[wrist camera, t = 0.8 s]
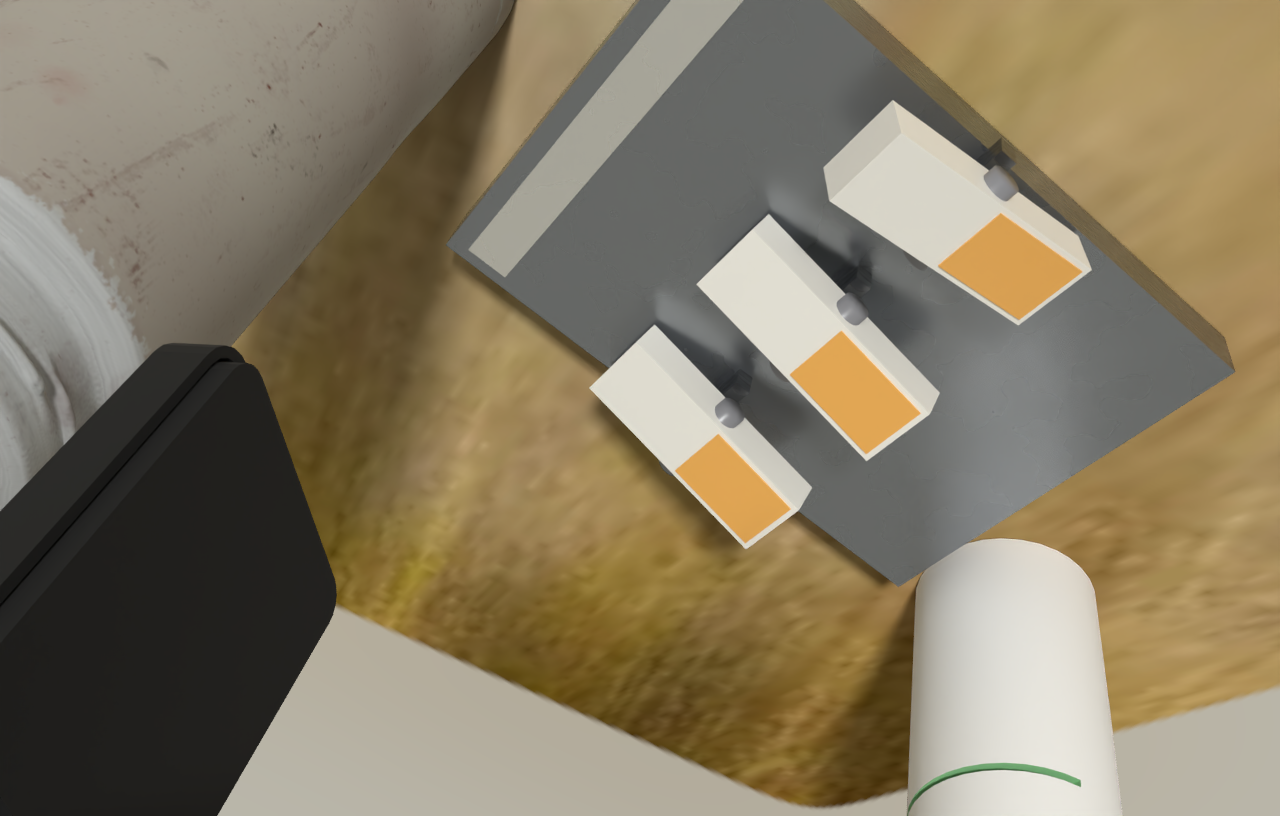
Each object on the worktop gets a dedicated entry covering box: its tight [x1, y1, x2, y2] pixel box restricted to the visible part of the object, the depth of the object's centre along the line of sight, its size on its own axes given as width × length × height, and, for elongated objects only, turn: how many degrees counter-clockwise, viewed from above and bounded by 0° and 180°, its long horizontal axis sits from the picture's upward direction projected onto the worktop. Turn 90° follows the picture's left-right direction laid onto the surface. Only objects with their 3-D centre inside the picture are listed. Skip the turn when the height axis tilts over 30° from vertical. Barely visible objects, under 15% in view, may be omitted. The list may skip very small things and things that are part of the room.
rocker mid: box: [696, 214, 940, 461], centre depth 38 cm, size 8×4×2 cm, turn 52°
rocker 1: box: [590, 325, 812, 549], centre depth 42 cm, size 8×4×2 cm, turn 52°
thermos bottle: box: [0, 0, 514, 511], centre depth 27 cm, size 8×8×28 cm
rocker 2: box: [823, 100, 1092, 325], centre depth 35 cm, size 8×4×2 cm, turn 53°
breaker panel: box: [446, 0, 1235, 587], centre depth 40 cm, size 22×16×3 cm
